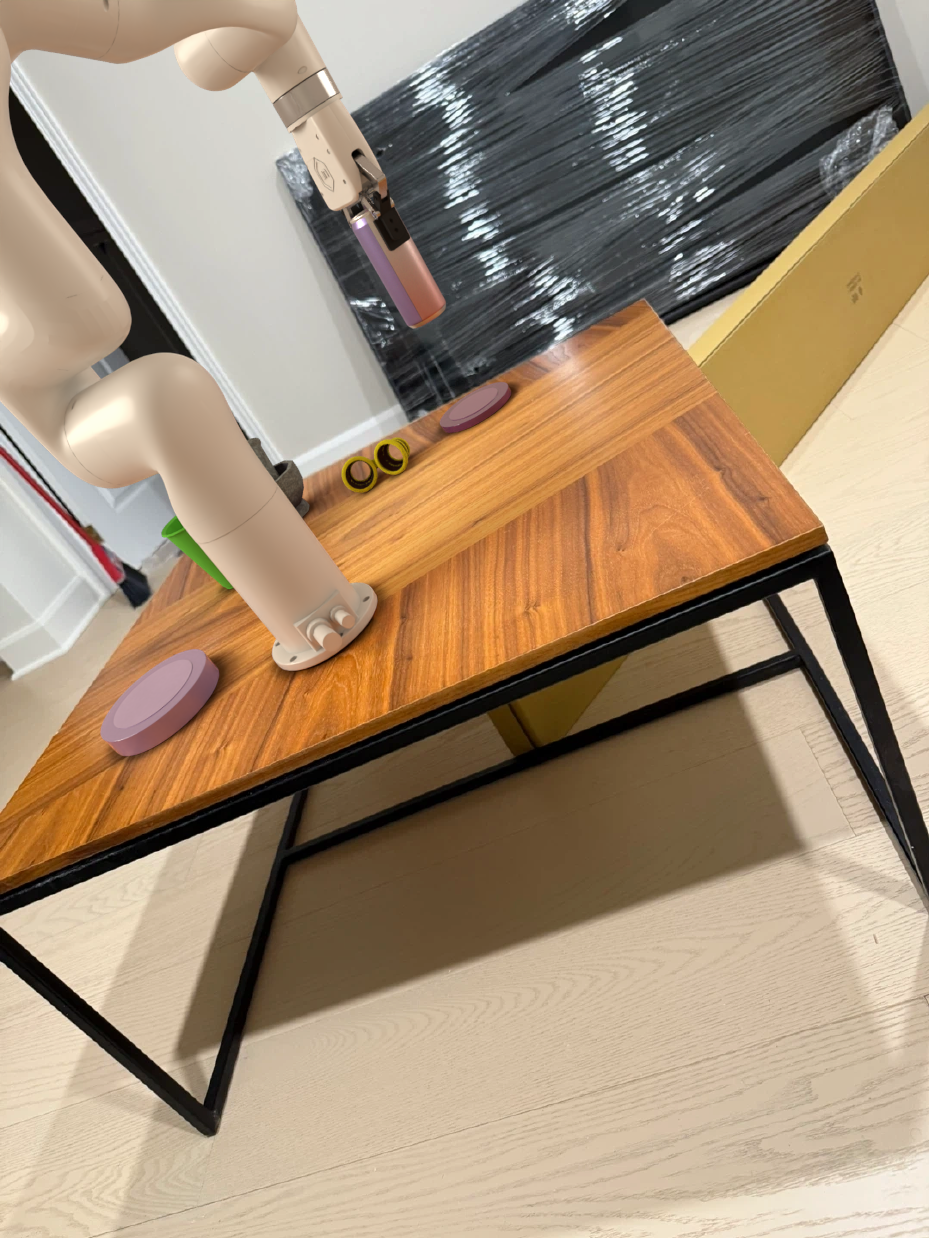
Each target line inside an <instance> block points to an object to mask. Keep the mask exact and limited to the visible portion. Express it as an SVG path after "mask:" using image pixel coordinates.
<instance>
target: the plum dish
mask: <svg viewBox="0 0 929 1238" xmlns="http://www.w3.org/2000/svg"><path fill="white" fill-rule="evenodd" d="M511 395H512V390H511V388H510V385H508V383H507V382H505V381H498V382H492V383H489V384H486V385H483V386H482V387H480V388H478V389H475V390H474V391H472V392H470V393H468V394H466V395H465V396H463V397H462V398H461V399H459V400H457V401H456V402H455V403H453V404H452V405H451V406H450V407H449V408H448V409H447V410H446V411H445V412H444V414H443V415H442V416H441V417H440V420H439V426H440V428H441V429H442V430H443V432H444V433H447V434H454V433H458V432H462V431H464V430H467V429H470V428H472V427H474V426H476V425H479V424H480V423H481V422H483V421H485V420H486V419H488V418H489V417H491V416H493V415H494V414H495V413H496V412H497V411H499V410H500V409H502V407H503V406H504V405H505V404H506V403H507V402H508V401H509V399H510V397H511Z"/></svg>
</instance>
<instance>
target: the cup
mask: <svg viewBox="0 0 929 1238" xmlns="http://www.w3.org/2000/svg"><path fill="white" fill-rule="evenodd" d="M160 533H161V537H162V538H164V539H165V538H166V539H168V540H169V541H170V542H171V543H172V544H174V546H176V547H177V548H178V549H179V550H180V551H182V553H184V554H185V555H186V556H187V557H188V558H190V559H191V560H192V562H194V563H195V564H196V565H198V567H200V568H201V569H202V570H203V571H205V573H207V574H208V575H209V576H210V577H211V578H212V579H214V581H216V582H217V583H218V584H219V585H220V586H222V587H223V588H225V589H227V590H232V589H234V587H233V586H232V585H231V584H230V582H229V581H228V580H227V579H226V578H225V576H224V575H223V574H222V573H221V572H220V570H219V569H218V568H217V567H216V565H215V564H214V563H213V562H212V561H211V559H210V558H209V557H208V556H207V555H206V553H205V552H204V551H203V550H202V549H201V547H200V546H199V545H198V544H197V543H196V542H195V541H194V539H193V538H192V537H191V536H190V534H189V533H188V532H187V531H186V529H185V528H184V527H183V525H182V524H181V522H180V521H179V519H178V518H177V516H176V515H174V516H173V517H172V518H171V519H170V520H169V521H168V522H167V523H166V524H165V525H164V526H163V528H162V530H161V532H160Z"/></svg>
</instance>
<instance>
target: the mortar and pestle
mask: <svg viewBox="0 0 929 1238" xmlns="http://www.w3.org/2000/svg"><path fill="white" fill-rule="evenodd" d="M246 440H247V442H248V443H249V445H250V446H251V448H252V449H253V451H254V453H255V454H256V456H257V457H258V458H259V460H260V461H261V463H262V464H263V466H264V467H265V468H266V470H267V471H268V473H269V474H270V475H271V477H272V478H273V479H274V481H275V482H276V483H277V485H278V486H279V487H280V489H281V490H282V491H283V493H284V494H285V495H286V497H287V498H288V500H289V501H290V502H291V504H292V505H293V506H294V508H295V509H296V510H297V512H298V513H299V515H300V516H301V517H302V518H303V517H305V516H306V514H307V513H308V512H309V510H310V504H309V503H308V501H306V499H305V498H303V495H304V490H305V484H304V479H303V475H302V473H301V471H300V469H299V467H298V466H297V464H296V463H295V462H294V460H292V459H289V460H287V459H286V460H285V459H284V460H282V461H280V462H277V463H275V464H273V463H272V461H271V460H270V458H269V456H268V454H267V453H266V451H265V450H264V448H263V446H262V440H261V439H260V438H259V437H252V438H249V439H246Z"/></svg>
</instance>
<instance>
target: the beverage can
mask: <svg viewBox="0 0 929 1238" xmlns="http://www.w3.org/2000/svg"><path fill="white" fill-rule="evenodd" d="M395 209H396V211H397V213H398V214H399V212H398V210H397V207H395ZM374 220H376V219H375V218H374V217H373V215H372V214H371V213H370V211H369V210H368V209H367V208H366V209H365V210H363V211H362V212H360V213H359V214H357V215H356V216H355V217H353V218H352V219H351V220H350V223H351V225H352V228H351V229H352V232H353V233H354V235H355V237H356V239H357V240H358V242H359V244H360V246H361V248H362V249H363V251H364V252H365V255H366V257H367V258H368V260H369V262H370V263H371V265H372V267H373V269H374V270H375V272H376V274H377V275H378V277H379V279H380V281H381V282H382V284H383V286H384V287H385V289H386V291H387V293H388V295H389V297H390V298H391V300H392V302H393V304H394V305H395V307H396V309H397V310H398V313H399V314H400V316H401V318H402V319H403V321H404V322H405V324H406V326H408V327H409V328H410V329H414V330H415V329H418V328H421V327H424V326H425V325H427V324H429V323H431V322H432V321H433V320H436V319H437V318H438V317H440V315H442V313H444V312H445V310H446V308H447V301H446V299H445V297H444V296H443V294H442V291H441V290H440V288H439V286H438V284H437V283H436V280H435V279H434V277H433V275H432V273H431V272H430V270H429V268H428V266H427V264H426V262H425V260H424V258H423V257H422V254H421V252H420V251H419V249H418V247H417V245H416V243H415V242H414V239H413V238H412V236H411V234H410V231H408V233H409V235H410V239H409V240H408V241H406V242H405V243H404V244H402V245H401V246H399V247H398V248H397V249H395V250H394V251H389V250H388V248H387V246H386V244H385V242H384V241H383V239H382V237H381V235H380V233H379V232H378V230H377V228H376V226H375V225H374V223H373V221H374ZM401 220H402V218H401ZM402 222H403V224H404V223H405V222H404V221H403V220H402ZM404 225H405V224H404Z"/></svg>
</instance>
